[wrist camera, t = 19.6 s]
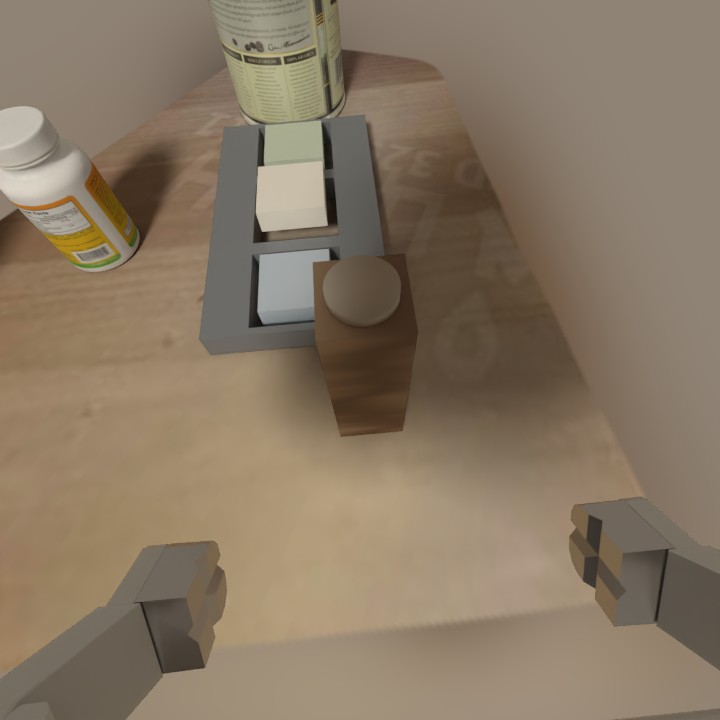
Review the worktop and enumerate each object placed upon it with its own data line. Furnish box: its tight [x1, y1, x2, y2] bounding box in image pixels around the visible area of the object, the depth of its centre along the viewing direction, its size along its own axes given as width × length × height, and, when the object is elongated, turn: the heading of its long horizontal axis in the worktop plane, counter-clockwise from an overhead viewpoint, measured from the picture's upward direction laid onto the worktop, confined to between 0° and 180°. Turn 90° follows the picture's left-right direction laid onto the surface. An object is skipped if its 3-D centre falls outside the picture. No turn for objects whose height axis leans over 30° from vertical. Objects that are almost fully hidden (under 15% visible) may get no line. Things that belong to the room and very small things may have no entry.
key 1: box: [257, 249, 331, 327], centre depth 27 cm, size 5×5×2 cm
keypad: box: [199, 115, 385, 355], centre depth 31 cm, size 12×21×2 cm, turn 5°
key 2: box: [264, 121, 325, 170], centre depth 34 cm, size 5×5×2 cm
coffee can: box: [208, 0, 345, 125], centre depth 34 cm, size 10×10×14 cm
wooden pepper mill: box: [313, 254, 418, 437], centre depth 20 cm, size 4×4×12 cm
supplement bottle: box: [0, 106, 140, 272], centre depth 28 cm, size 5×5×10 cm
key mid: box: [256, 161, 328, 232], centre depth 29 cm, size 5×5×2 cm
